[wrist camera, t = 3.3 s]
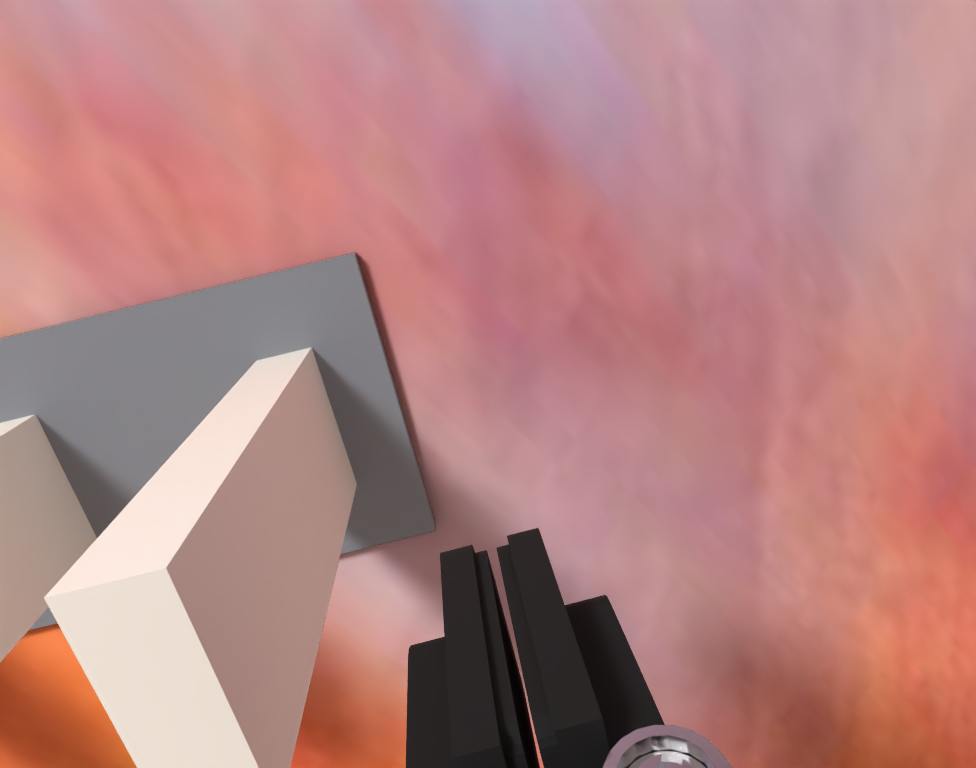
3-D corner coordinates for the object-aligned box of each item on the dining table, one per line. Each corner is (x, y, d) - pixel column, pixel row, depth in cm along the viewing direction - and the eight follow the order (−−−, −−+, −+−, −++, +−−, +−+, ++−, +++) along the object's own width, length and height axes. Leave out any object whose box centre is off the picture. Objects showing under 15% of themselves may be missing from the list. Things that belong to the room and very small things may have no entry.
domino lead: (311, 347, 21) (166, 567, 9) (356, 484, 22) (279, 812, 11) (256, 360, 21) (44, 597, 9) (306, 496, 22) (176, 838, 11)
